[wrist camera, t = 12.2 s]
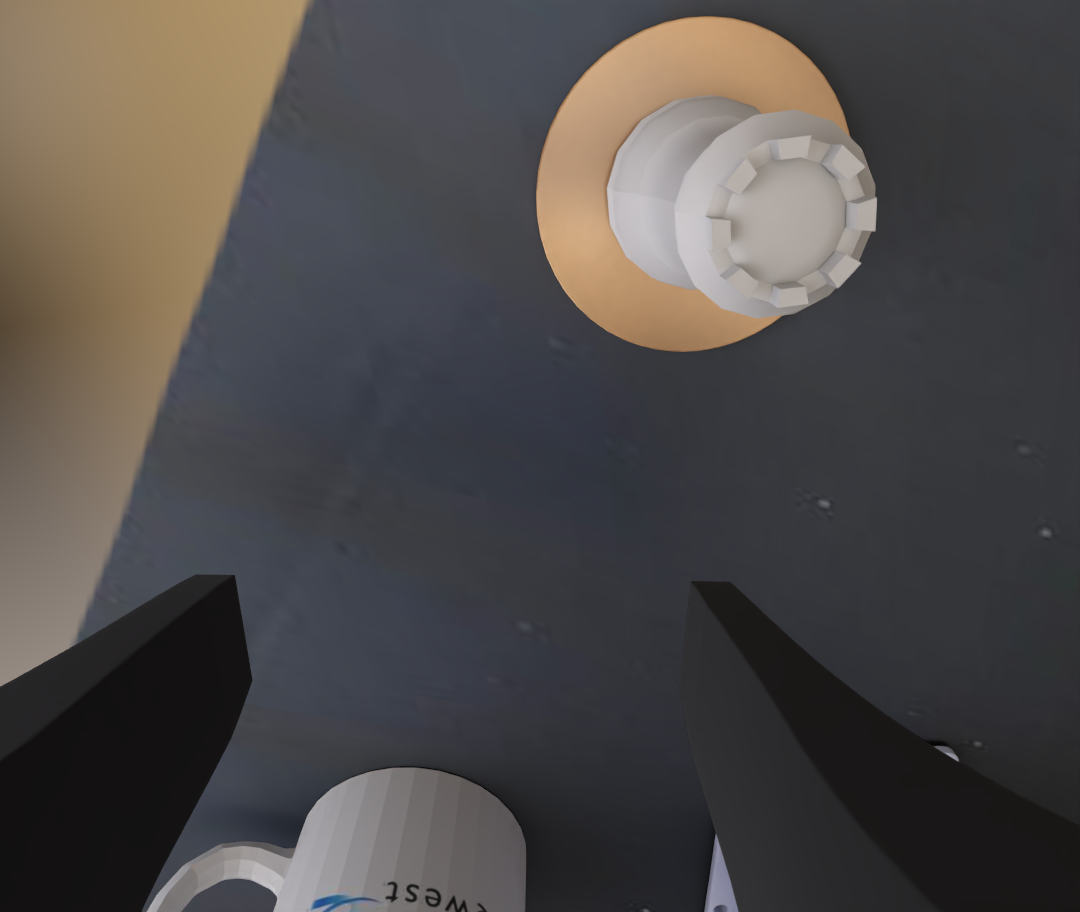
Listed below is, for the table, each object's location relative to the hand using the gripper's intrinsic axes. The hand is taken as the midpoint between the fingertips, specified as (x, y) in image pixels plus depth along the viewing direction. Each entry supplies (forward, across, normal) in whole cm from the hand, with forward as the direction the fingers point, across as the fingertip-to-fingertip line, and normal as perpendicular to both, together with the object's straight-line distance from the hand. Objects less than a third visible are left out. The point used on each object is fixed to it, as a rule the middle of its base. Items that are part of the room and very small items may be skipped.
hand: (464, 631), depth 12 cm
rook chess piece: (+10, -5, -6) cm, 13 cm away
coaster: (+10, -5, -6) cm, 13 cm away
